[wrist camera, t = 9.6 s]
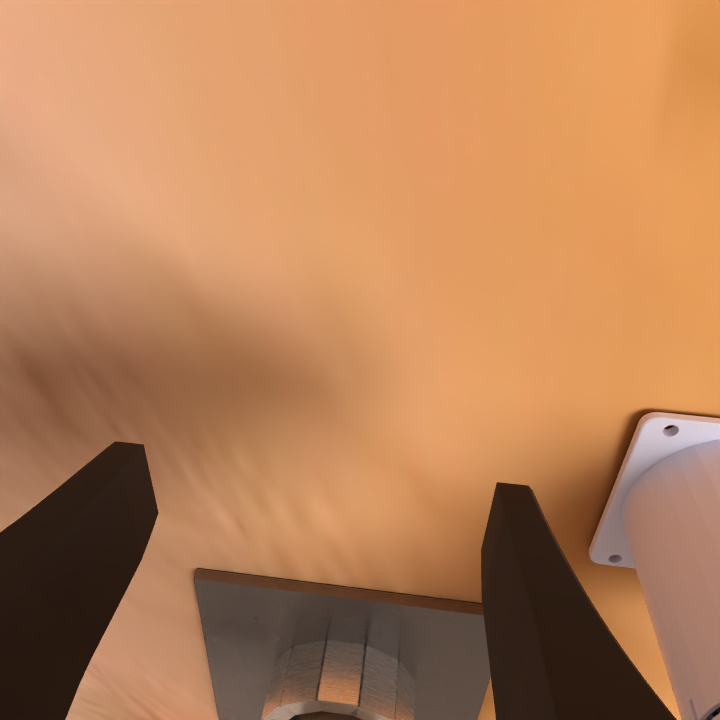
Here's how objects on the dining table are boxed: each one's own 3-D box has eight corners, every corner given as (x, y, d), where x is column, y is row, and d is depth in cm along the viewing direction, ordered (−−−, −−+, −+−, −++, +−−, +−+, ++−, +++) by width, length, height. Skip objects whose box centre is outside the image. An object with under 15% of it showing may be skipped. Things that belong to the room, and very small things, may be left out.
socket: (507, 607, 29) (514, 682, 26) (463, 753, 38) (465, 822, 35) (197, 568, 30) (170, 636, 27) (223, 719, 39) (205, 783, 36)
